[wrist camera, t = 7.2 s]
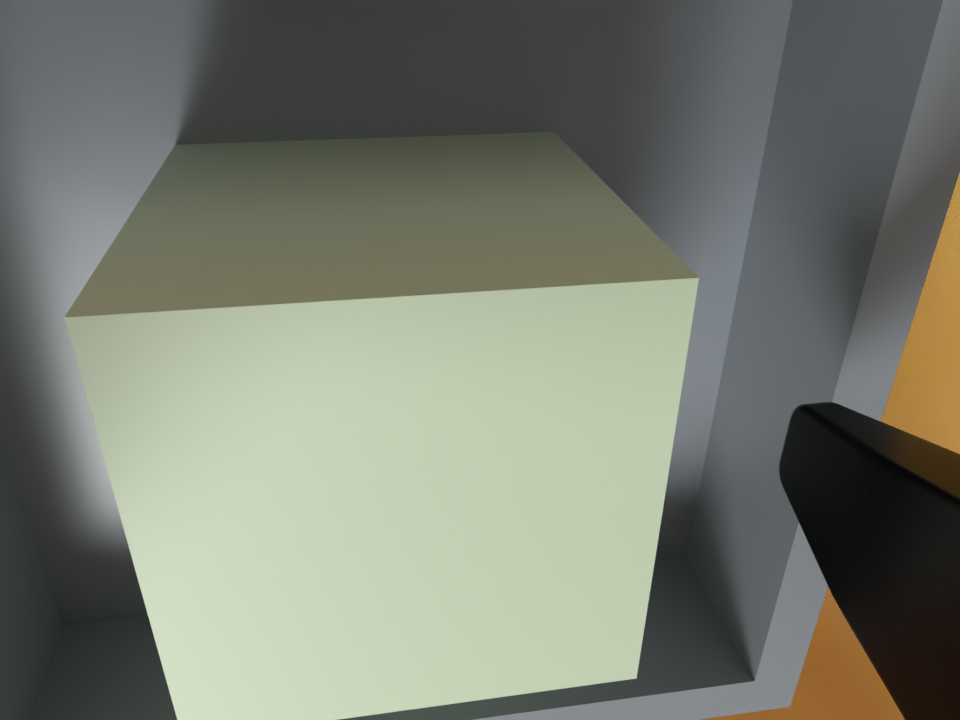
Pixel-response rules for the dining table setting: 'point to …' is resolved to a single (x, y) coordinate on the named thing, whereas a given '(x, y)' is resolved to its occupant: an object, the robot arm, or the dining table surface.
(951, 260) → the dining table surface
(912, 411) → the dining table surface
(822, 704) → the dining table surface
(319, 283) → the sage cube
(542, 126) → the slate bin
